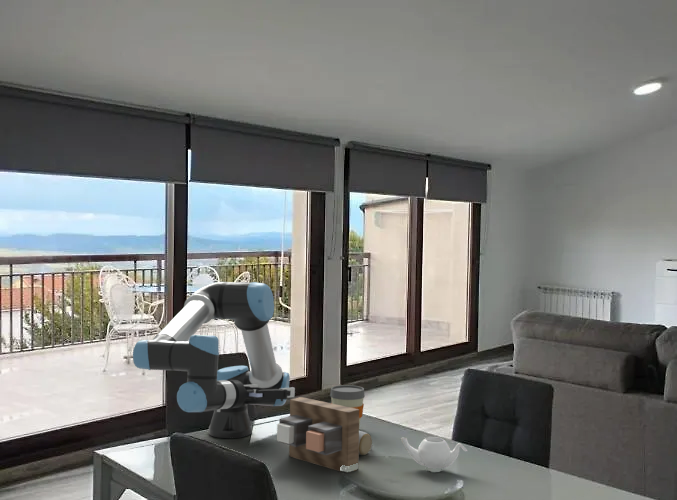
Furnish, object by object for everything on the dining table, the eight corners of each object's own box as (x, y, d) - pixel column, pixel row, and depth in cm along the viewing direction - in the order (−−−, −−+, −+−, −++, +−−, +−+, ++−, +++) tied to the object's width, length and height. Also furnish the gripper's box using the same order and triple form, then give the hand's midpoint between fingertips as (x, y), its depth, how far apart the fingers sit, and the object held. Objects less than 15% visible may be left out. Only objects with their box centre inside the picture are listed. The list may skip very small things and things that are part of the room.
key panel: (273, 461, 212) (274, 403, 212) (300, 452, 221) (301, 397, 221) (332, 479, 196) (333, 416, 196) (358, 469, 205) (359, 409, 205)
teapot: (468, 477, 200) (468, 446, 200) (399, 473, 203) (399, 441, 203) (467, 467, 209) (467, 436, 209) (401, 463, 212) (401, 433, 212)
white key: (277, 440, 208) (277, 424, 208) (286, 438, 211) (286, 421, 211) (288, 443, 205) (289, 427, 205) (298, 441, 208) (298, 424, 208)
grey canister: (360, 458, 216) (361, 434, 216) (339, 453, 221) (340, 429, 221) (378, 451, 225) (379, 427, 225) (358, 446, 230) (358, 423, 230)
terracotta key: (306, 448, 200) (306, 431, 200) (315, 445, 203) (315, 429, 203) (318, 452, 197) (319, 434, 197) (327, 449, 200) (328, 432, 200)
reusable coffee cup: (332, 424, 257) (332, 384, 257) (365, 426, 255) (366, 385, 255) (327, 433, 245) (327, 391, 244) (362, 435, 243) (362, 392, 243)
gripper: (191, 404, 190) (241, 399, 208) (262, 413, 177) (309, 407, 195) (193, 377, 191) (242, 374, 209) (264, 383, 178) (310, 380, 195)
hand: (274, 390), depth 202 cm, fingers open, 13 cm apart
